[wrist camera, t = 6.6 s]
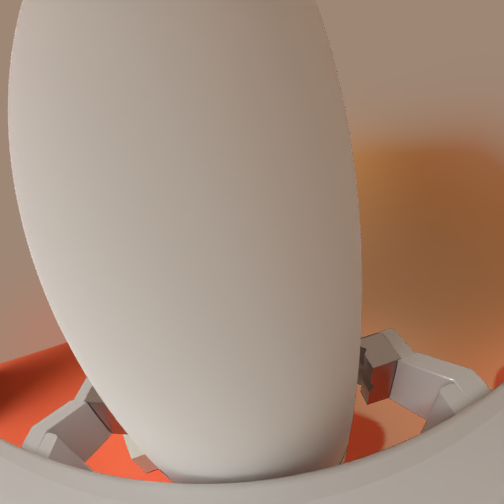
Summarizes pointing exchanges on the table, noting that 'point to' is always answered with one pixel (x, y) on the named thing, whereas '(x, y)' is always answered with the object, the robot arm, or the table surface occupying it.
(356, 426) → the table surface
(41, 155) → the cylindrical container
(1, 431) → the table surface
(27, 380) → the table surface
